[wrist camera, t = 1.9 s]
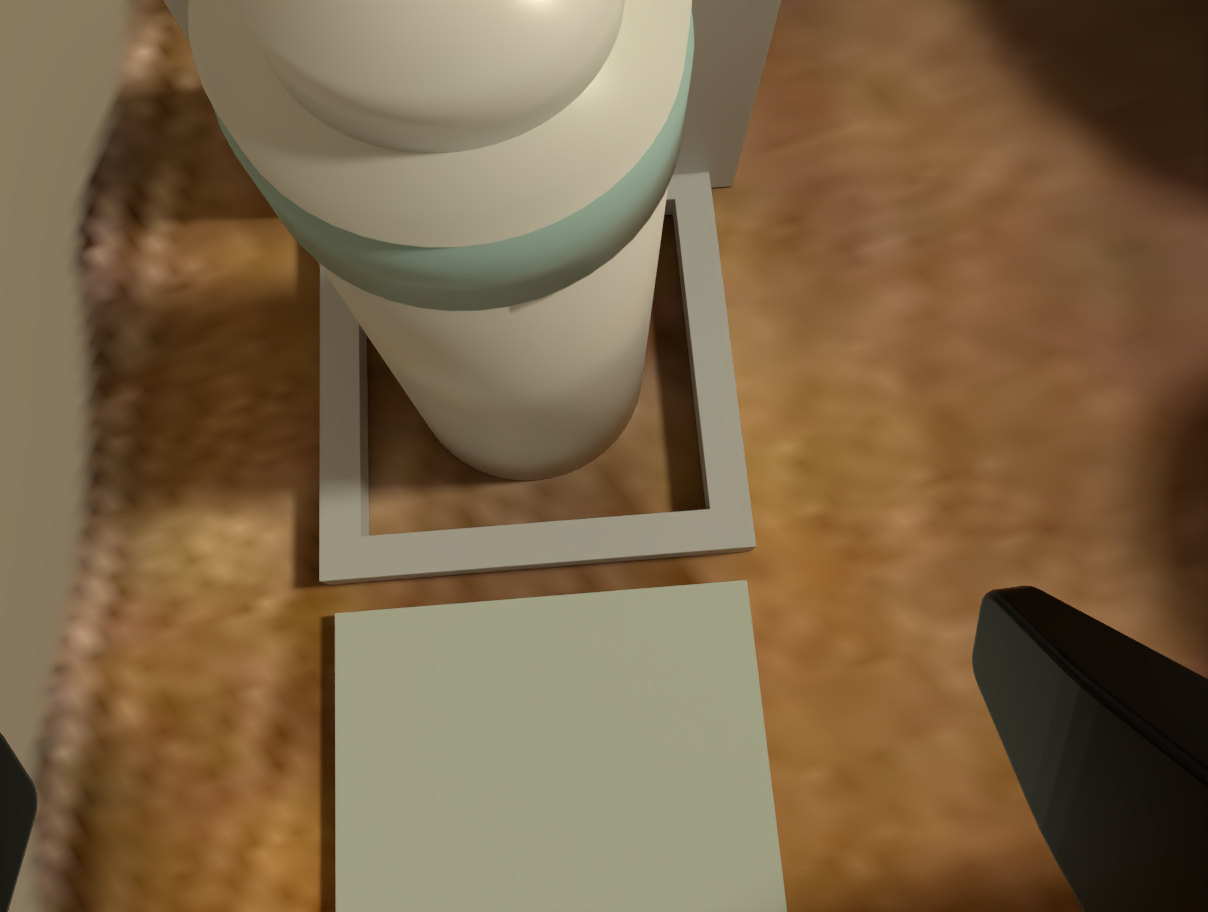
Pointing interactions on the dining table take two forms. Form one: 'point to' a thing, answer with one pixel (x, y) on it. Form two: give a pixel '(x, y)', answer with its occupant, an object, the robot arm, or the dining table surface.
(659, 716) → the mat
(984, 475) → the dining table surface
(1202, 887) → the robot arm
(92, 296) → the dining table surface
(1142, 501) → the dining table surface
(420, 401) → the cartridge
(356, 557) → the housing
